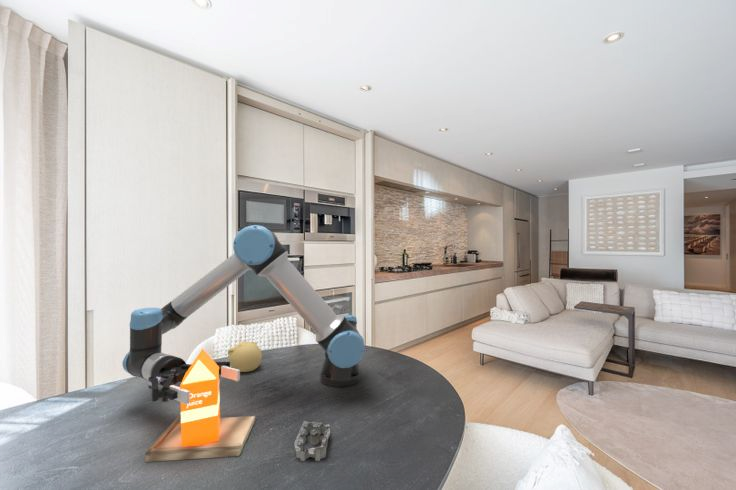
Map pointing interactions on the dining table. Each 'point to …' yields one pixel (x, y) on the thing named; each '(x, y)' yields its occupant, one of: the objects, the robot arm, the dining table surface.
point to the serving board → (228, 444)
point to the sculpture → (245, 356)
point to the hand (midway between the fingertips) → (215, 385)
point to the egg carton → (312, 440)
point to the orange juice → (201, 402)
